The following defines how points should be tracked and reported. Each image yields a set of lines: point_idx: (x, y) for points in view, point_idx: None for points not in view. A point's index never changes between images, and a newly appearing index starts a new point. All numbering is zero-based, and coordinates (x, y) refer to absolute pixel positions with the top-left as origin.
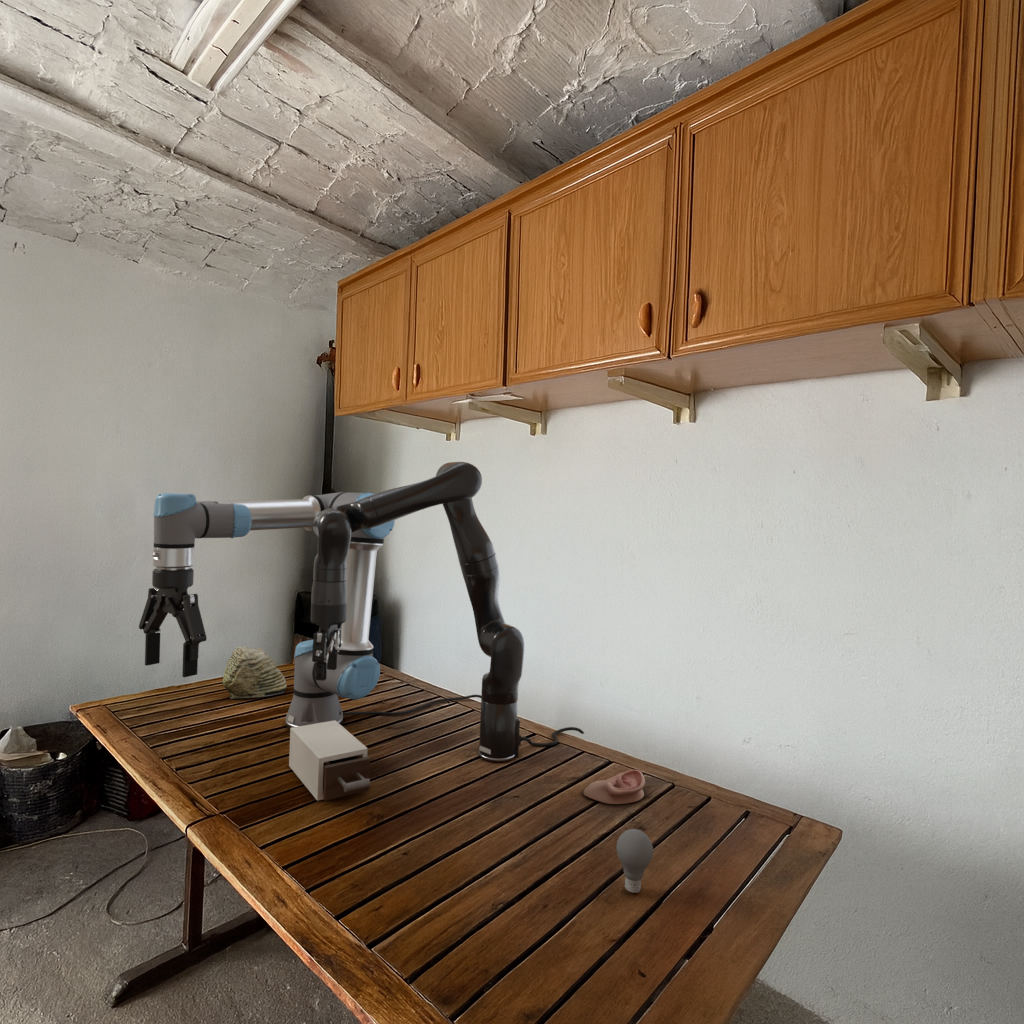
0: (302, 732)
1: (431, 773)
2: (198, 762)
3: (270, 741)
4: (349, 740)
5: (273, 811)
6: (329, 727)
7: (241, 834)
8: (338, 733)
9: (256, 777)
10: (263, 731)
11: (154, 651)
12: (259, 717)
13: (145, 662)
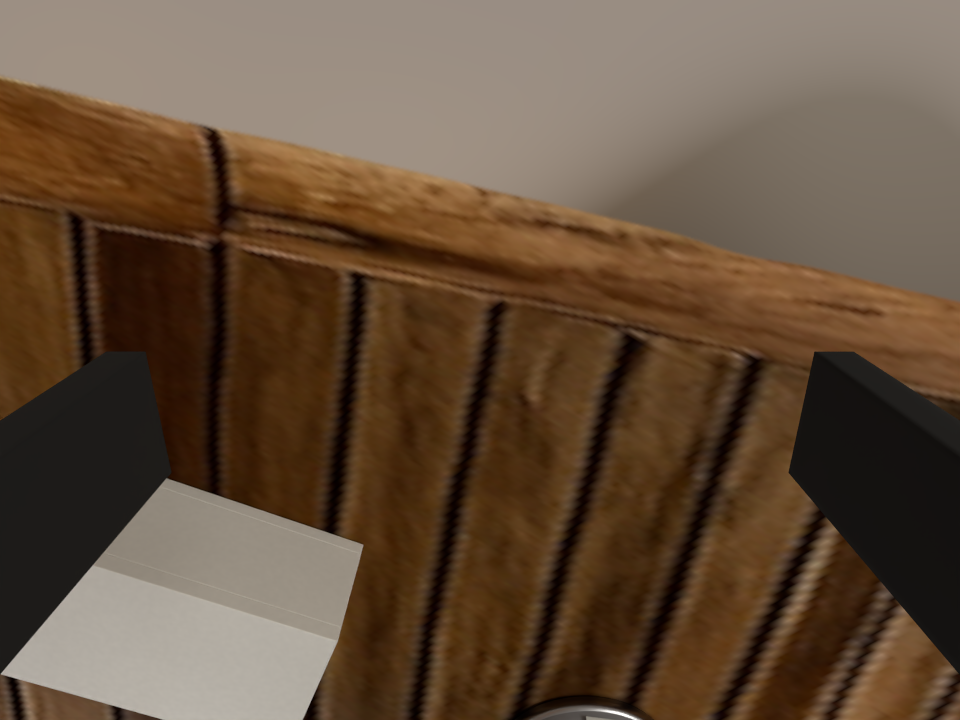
0: (264, 638)
1: (34, 707)
2: (621, 409)
3: (570, 616)
4: (80, 676)
5: (117, 342)
6: (238, 708)
7: (41, 199)
8: (164, 693)
9: (368, 447)
10: (657, 648)
11: (880, 503)
12: (765, 703)
13: (860, 363)
